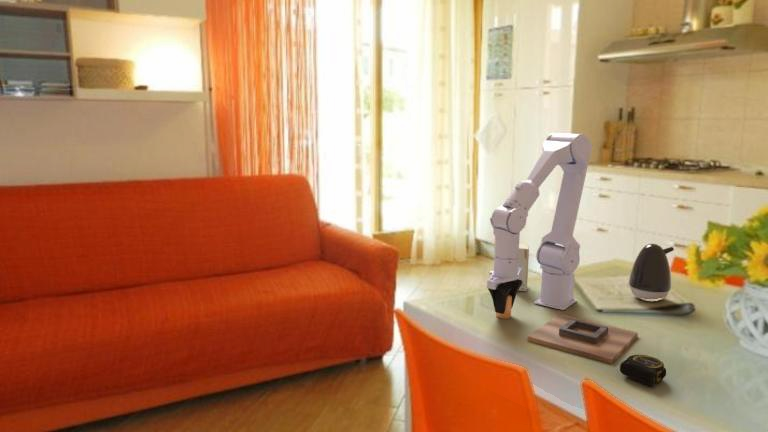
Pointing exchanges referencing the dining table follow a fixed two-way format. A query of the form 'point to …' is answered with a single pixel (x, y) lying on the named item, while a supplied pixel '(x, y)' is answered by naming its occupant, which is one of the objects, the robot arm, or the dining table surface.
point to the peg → (506, 309)
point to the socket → (584, 337)
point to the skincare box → (523, 265)
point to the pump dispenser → (651, 273)
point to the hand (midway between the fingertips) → (503, 310)
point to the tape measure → (644, 369)
